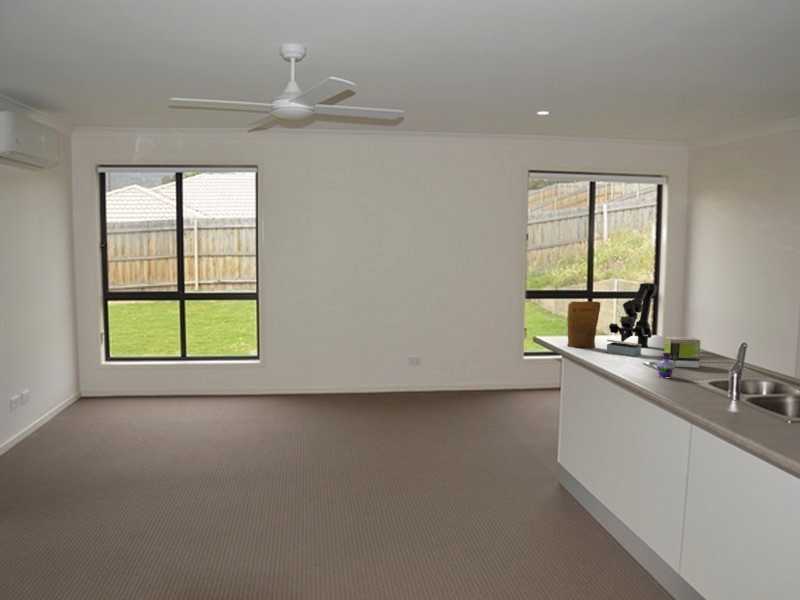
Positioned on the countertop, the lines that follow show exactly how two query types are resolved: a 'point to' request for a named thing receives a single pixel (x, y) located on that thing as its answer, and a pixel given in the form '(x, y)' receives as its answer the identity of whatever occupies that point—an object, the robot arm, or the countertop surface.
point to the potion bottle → (665, 365)
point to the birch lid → (624, 342)
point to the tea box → (683, 351)
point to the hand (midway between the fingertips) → (622, 341)
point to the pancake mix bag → (582, 323)
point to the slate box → (624, 349)
